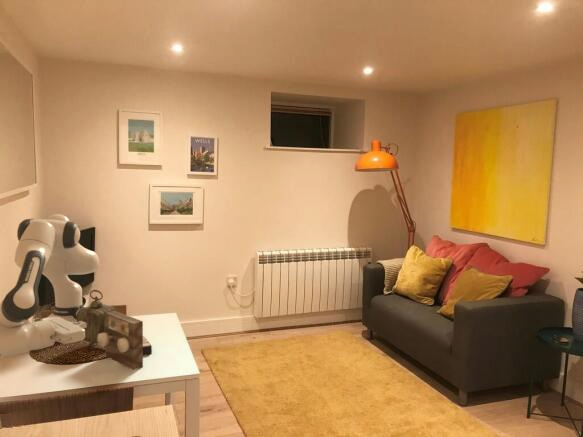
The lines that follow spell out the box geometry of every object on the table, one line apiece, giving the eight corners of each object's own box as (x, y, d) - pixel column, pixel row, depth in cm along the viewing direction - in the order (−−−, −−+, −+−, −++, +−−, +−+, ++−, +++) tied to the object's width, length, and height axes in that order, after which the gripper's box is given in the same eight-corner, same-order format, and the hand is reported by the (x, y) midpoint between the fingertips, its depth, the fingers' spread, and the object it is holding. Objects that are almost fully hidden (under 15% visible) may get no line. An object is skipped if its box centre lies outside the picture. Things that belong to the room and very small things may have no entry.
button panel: (132, 370, 182) (132, 323, 180) (104, 356, 194) (104, 313, 192) (142, 366, 185) (142, 321, 183) (114, 353, 198) (114, 310, 196)
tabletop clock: (117, 347, 204) (116, 290, 202) (100, 354, 196) (100, 294, 193) (91, 342, 210) (91, 286, 208) (74, 348, 202) (73, 290, 199)
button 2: (124, 354, 181) (124, 340, 180) (117, 350, 184) (117, 337, 183) (140, 349, 186) (140, 336, 185) (132, 346, 189) (132, 333, 189)
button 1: (104, 348, 186) (104, 335, 185) (97, 344, 189) (97, 332, 189) (120, 343, 191) (119, 331, 191) (113, 340, 194) (112, 328, 194)
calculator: (144, 335, 211) (151, 344, 198) (144, 344, 211) (151, 354, 198) (118, 338, 206) (123, 348, 193) (118, 348, 206) (124, 358, 193)
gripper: (58, 332, 153) (99, 322, 163) (31, 317, 165) (70, 309, 176) (59, 351, 153) (100, 340, 164) (31, 335, 166) (71, 326, 177)
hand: (84, 324), depth 170 cm, fingers closed
